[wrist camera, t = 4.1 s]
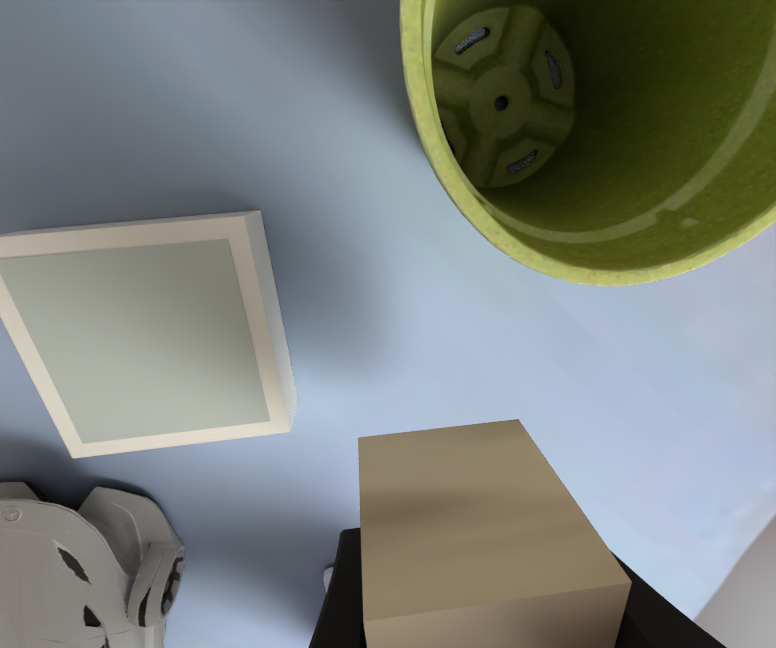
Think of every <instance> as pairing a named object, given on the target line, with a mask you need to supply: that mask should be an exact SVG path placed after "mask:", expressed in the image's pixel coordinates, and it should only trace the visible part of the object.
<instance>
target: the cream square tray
mask: <svg viewBox="0 0 776 648" xmlns="http://www.w3.org/2000/svg"><path fill="white" fill-rule="evenodd" d="M0 317H1V319H2V321H3V323H4V325H5V327H6V329H7V331H8V333H9V335H10V337H11V339H12V341H13V343H14V345H15V347H16V349H17V351H18V352H19V354H20V356H21V358H22V360H23V362H24V364H25V366H26V368H27V370H28V372H29V374H30V376H31V378H32V380H33V382H34V384H35V386H36V388H37V390H38V392H39V394H40V396H41V398H42V400H43V402H44V403H45V405H46V407H47V409H48V411H49V413H50V415H51V417H52V419H53V421H54V423H55V425H56V427H57V429H58V431H59V433H60V435H61V437H62V439H63V441H64V443H65V445H66V447H67V449H68V451H69V453H70V454H71V456H72V458H73V459H74V458H82V457H90V456H98V455H106V454H115V453H123V452H131V451H139V450H147V449H155V448H164V447H172V446H180V445H188V444H196V443H205V442H213V441H221V440H229V439H237V438H246V437H254V436H262V435H270V434H278V433H286V432H291V428H292V424H293V420H294V415H295V411H296V407H297V403H298V396H297V391H296V386H295V381H294V376H293V371H292V366H291V361H290V356H289V351H288V345H287V340H286V335H285V330H284V325H283V320H282V315H281V310H280V305H279V300H278V295H277V290H276V285H275V280H274V275H273V270H272V265H271V260H270V255H269V250H268V245H267V240H266V235H265V230H264V225H263V220H262V215H261V210H254V211H242V212H230V213H219V214H207V215H196V216H184V217H172V218H161V219H149V220H137V221H126V222H114V223H103V224H91V225H79V226H68V227H56V228H44V229H33V230H23V231H17V232H11V233H5V234H0Z"/></svg>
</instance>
